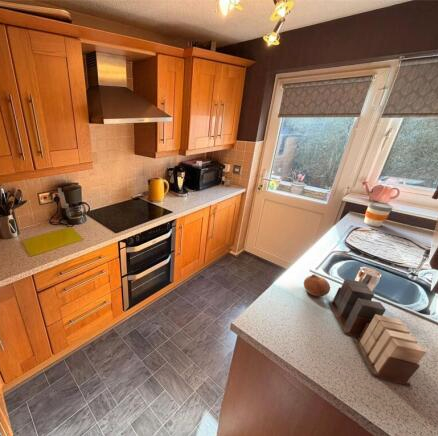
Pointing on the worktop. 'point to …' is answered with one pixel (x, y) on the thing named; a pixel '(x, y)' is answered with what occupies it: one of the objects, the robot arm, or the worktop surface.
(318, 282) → the onion
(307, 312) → the worktop surface
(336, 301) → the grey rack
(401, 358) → the cream rack
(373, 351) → the cream book
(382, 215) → the reusable coffee cup
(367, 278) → the beer glass
